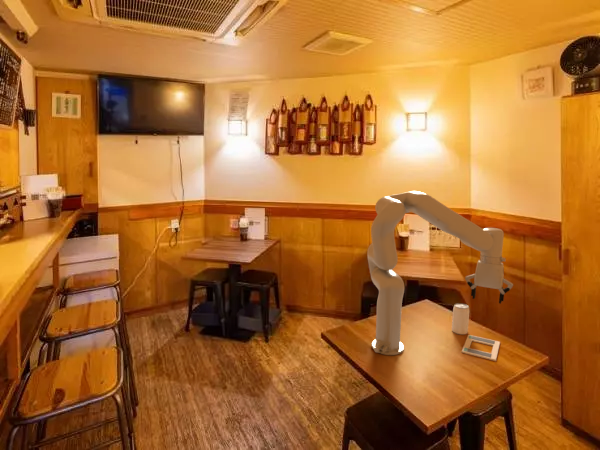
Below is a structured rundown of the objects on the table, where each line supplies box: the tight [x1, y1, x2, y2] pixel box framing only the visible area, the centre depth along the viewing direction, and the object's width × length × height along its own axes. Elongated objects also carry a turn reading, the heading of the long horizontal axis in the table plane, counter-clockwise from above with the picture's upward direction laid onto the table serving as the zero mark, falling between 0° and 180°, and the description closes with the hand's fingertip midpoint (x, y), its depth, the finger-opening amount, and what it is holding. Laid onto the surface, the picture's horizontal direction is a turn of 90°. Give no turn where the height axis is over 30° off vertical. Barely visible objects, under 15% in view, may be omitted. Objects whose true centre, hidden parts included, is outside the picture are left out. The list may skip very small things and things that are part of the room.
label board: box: [461, 334, 501, 362], centre depth 152 cm, size 16×12×1 cm
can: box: [451, 302, 470, 336], centre depth 165 cm, size 6×6×12 cm
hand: (486, 300), depth 153 cm, fingers open, 9 cm apart
